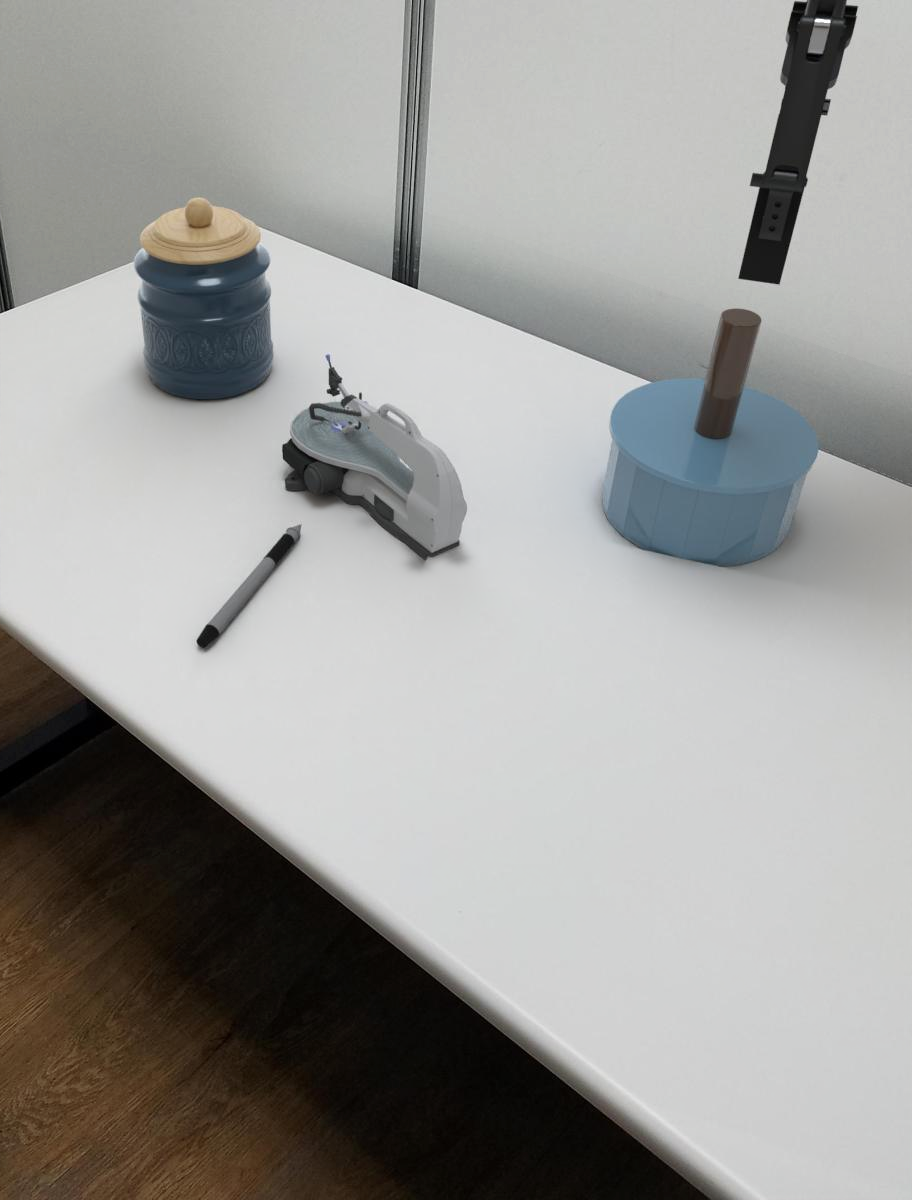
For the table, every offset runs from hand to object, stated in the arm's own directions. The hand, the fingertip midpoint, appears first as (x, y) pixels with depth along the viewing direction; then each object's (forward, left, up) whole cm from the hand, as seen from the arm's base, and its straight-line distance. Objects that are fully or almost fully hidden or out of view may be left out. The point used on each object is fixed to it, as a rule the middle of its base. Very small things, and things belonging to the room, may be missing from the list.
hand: (768, 240), depth 85 cm
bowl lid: (+1, 0, -17) cm, 17 cm away
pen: (+32, +23, -24) cm, 46 cm away
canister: (+49, -7, -24) cm, 56 cm away
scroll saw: (+26, +8, -24) cm, 37 cm away
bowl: (0, 0, -24) cm, 24 cm away
